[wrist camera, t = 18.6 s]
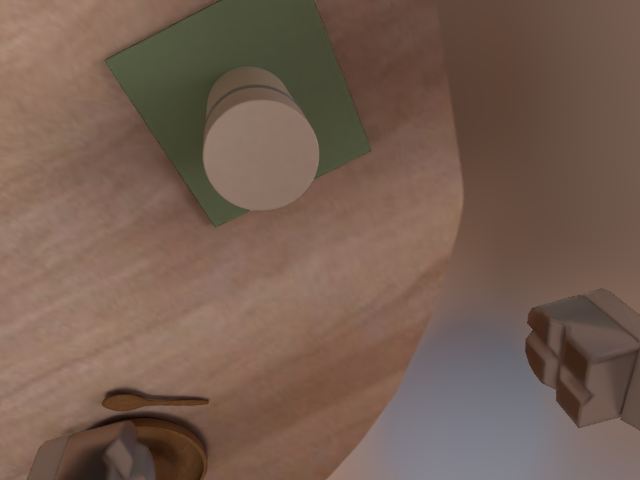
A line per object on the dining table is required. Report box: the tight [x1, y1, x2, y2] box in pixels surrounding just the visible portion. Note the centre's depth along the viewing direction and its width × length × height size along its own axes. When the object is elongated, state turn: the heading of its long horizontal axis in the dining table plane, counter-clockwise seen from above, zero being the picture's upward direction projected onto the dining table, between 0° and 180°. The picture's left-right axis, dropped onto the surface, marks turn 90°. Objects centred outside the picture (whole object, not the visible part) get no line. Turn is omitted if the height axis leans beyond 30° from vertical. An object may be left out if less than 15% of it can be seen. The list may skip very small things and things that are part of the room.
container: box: [203, 66, 319, 211], centre depth 24 cm, size 5×5×9 cm
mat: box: [105, 0, 371, 227], centre depth 28 cm, size 12×12×1 cm
